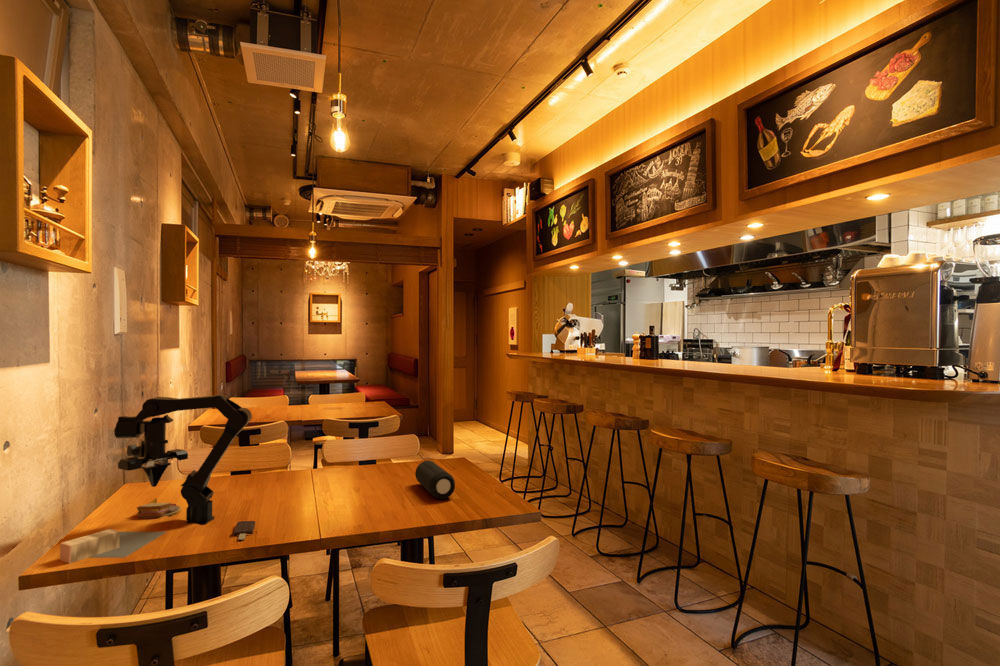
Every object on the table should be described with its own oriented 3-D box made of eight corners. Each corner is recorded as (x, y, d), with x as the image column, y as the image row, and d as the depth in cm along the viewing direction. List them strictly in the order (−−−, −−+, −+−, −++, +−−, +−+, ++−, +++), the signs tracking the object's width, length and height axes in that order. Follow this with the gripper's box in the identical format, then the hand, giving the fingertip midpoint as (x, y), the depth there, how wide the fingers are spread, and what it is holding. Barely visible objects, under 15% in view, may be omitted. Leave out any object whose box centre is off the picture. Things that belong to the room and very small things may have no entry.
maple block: (110, 528, 152) (60, 543, 141) (119, 531, 150) (69, 546, 139) (110, 544, 152) (59, 560, 141) (119, 547, 150) (69, 563, 139)
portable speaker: (456, 499, 200) (457, 472, 200) (431, 502, 196) (431, 475, 196) (436, 482, 224) (437, 458, 224) (413, 484, 220) (413, 460, 220)
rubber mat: (167, 533, 162) (167, 531, 162) (124, 559, 143) (124, 557, 143) (116, 533, 162) (116, 531, 162) (67, 559, 143) (67, 557, 143)
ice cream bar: (250, 541, 158) (255, 524, 172) (251, 535, 158) (255, 519, 172) (231, 543, 156) (237, 526, 170) (231, 538, 156) (237, 521, 170)
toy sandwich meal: (189, 509, 186) (189, 495, 186) (159, 522, 173) (159, 508, 173) (156, 507, 188) (157, 493, 188) (124, 520, 174) (124, 505, 174)
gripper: (168, 430, 182) (167, 476, 182) (108, 439, 166) (107, 490, 165) (189, 433, 177) (188, 480, 177) (129, 443, 161) (128, 495, 160)
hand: (153, 486), depth 170 cm, fingers closed
